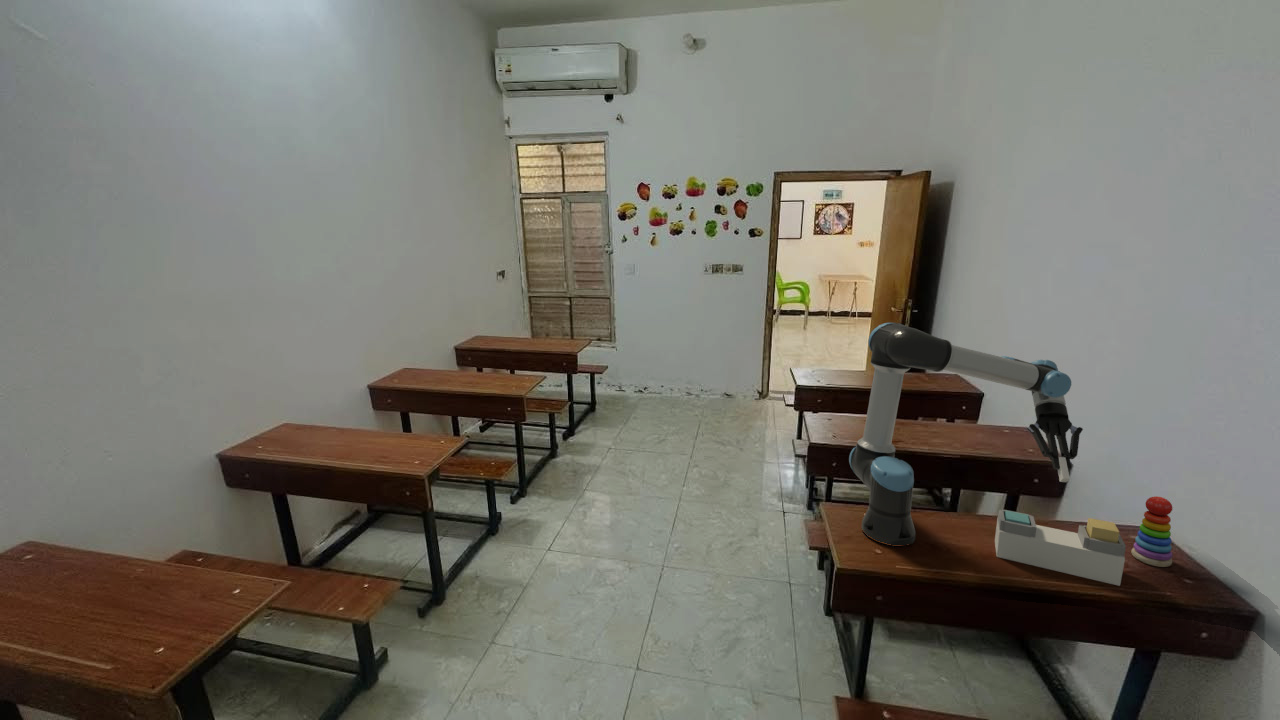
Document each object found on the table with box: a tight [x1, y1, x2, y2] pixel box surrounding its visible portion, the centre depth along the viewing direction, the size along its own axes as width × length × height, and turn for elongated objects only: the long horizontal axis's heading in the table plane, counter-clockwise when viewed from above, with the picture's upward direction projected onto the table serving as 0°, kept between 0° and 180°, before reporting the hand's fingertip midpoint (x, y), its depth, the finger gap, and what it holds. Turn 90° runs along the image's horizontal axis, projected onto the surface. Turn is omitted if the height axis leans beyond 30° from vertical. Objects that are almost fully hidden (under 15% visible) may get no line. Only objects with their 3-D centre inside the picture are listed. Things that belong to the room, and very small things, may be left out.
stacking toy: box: [1130, 496, 1173, 568], centre depth 135 cm, size 8×8×19 cm
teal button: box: [1004, 509, 1030, 525], centre depth 140 cm, size 5×5×4 cm
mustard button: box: [1086, 517, 1120, 543], centre depth 130 cm, size 5×5×4 cm
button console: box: [994, 509, 1127, 587], centre depth 136 cm, size 26×9×11 cm, turn 58°
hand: (1064, 480), depth 139 cm, fingers closed
